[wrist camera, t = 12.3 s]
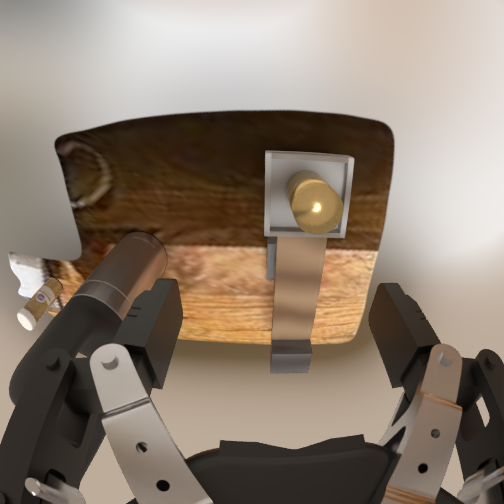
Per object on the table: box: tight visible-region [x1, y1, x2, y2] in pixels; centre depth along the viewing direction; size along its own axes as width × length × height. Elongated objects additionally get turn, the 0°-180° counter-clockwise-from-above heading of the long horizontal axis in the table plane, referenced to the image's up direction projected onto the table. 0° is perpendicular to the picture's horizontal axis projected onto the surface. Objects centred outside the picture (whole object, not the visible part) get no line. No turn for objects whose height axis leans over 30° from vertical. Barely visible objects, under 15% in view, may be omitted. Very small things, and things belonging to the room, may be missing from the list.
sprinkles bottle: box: [17, 277, 63, 330], centre depth 43 cm, size 5×5×13 cm
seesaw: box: [264, 151, 354, 373], centre depth 35 cm, size 33×9×4 cm, turn 0°
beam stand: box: [267, 236, 277, 280], centre depth 40 cm, size 6×8×6 cm
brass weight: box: [286, 170, 343, 235], centre depth 26 cm, size 4×4×7 cm
